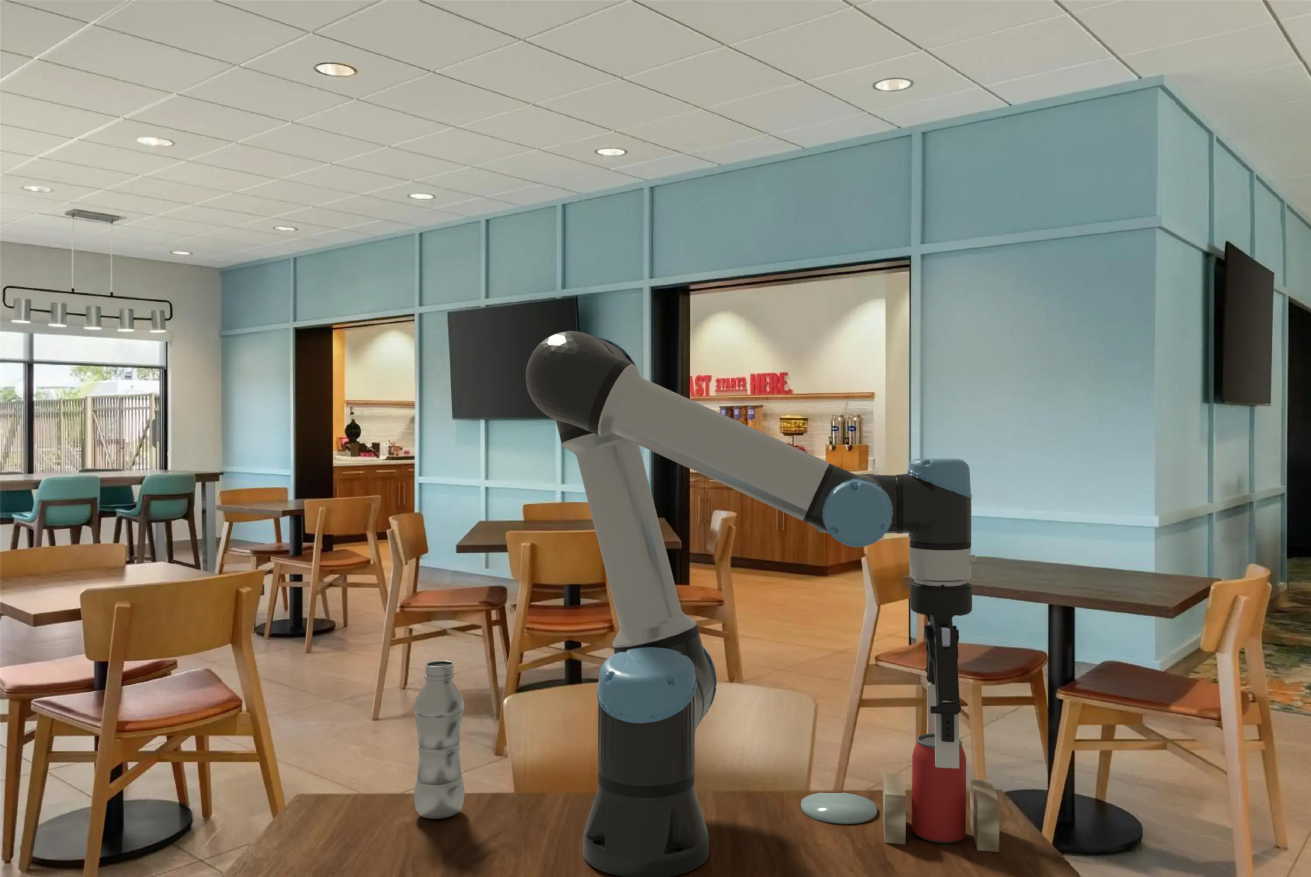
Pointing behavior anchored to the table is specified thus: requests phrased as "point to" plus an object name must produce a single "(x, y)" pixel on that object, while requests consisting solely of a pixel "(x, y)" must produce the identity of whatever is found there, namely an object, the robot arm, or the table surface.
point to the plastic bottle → (439, 743)
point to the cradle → (981, 812)
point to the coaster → (839, 808)
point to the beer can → (937, 794)
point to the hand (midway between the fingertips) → (942, 749)
